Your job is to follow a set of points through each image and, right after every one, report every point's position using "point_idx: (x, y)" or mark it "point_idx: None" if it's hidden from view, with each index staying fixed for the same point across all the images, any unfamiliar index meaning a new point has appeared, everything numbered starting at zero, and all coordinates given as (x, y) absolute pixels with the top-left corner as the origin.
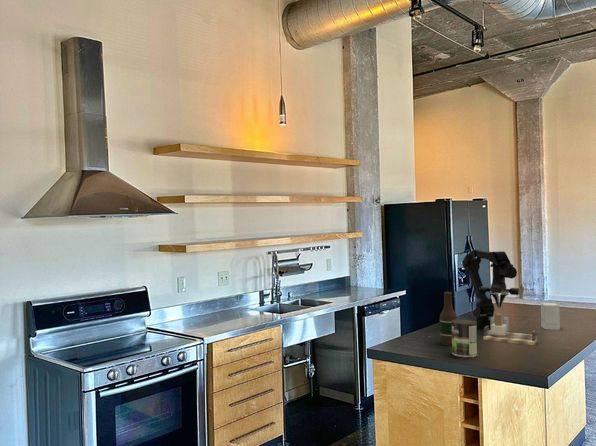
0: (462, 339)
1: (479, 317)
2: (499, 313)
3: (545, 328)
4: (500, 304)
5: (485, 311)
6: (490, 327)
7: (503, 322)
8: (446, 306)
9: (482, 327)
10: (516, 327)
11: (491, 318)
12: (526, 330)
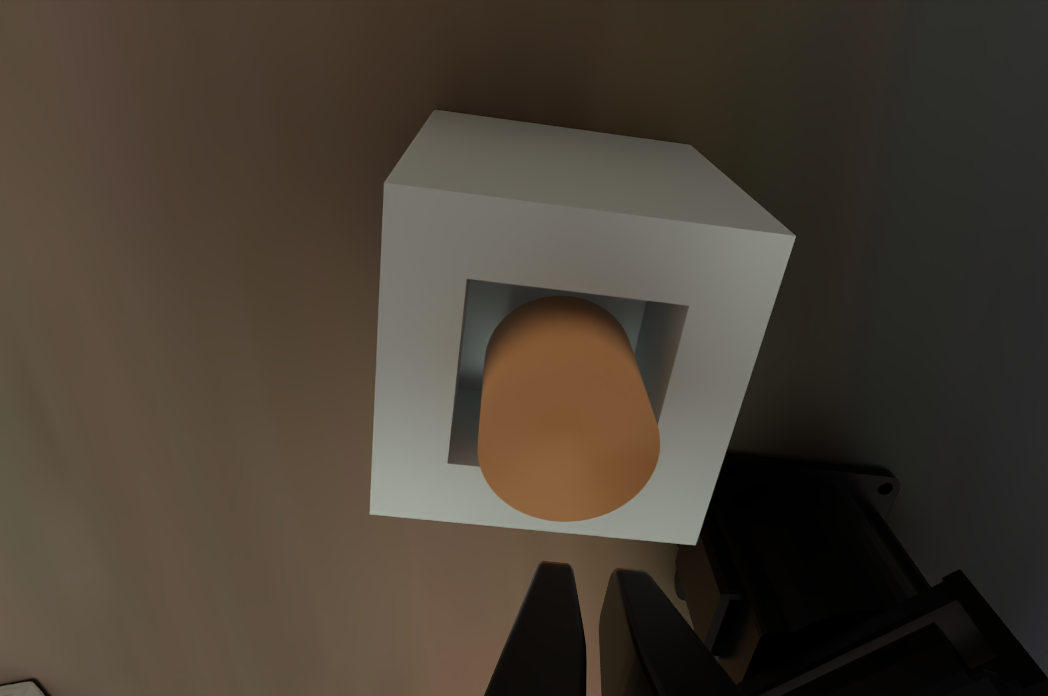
0: None
1: (946, 576)
2: (569, 491)
3: (22, 691)
4: (543, 665)
5: (900, 676)
6: None
7: (452, 168)
8: None
9: (808, 486)
10: (368, 685)
11: (772, 234)
12: (221, 577)
